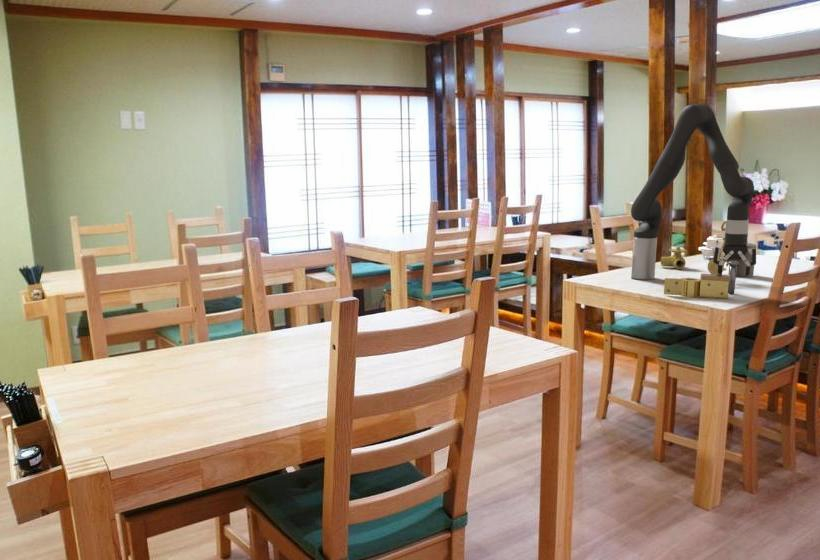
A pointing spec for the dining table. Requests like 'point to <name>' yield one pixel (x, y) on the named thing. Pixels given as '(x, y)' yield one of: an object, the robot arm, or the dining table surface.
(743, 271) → the pillar candle
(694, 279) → the hinge block
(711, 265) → the wall sconce
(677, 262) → the ball valve
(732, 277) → the hinge pin
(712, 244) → the mechanical part
